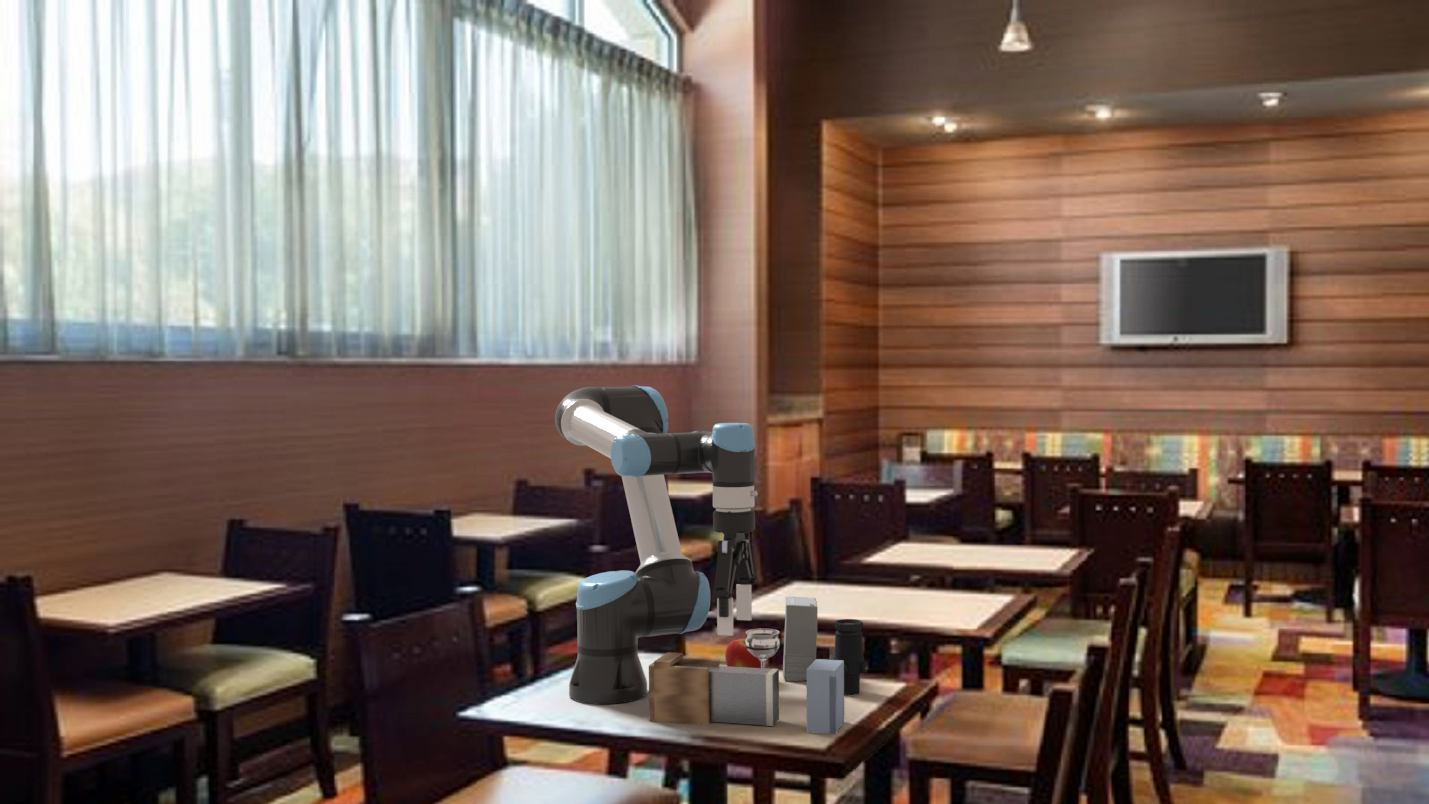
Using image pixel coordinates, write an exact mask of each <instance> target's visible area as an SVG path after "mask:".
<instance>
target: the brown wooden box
mask: <svg viewBox="0 0 1429 804" xmlns="http://www.w3.org/2000/svg"><path fill="white" fill-rule="evenodd" d="M720 662H721V661H720V659H718V658H717V659H715V658H703V657H702V658H700V657H684V653H683V652H671V651H670V652H669V651H668V652H666V653H664V654H663V655H662V656H660V657H658V658H656V660H654V661H653V662H652V663H651V664H649V665H648V700H649V701H648V707H649V708H648V709H649V710H648V715H649V716H648V717H649V718H648V719H649V720H648V721H649V722H660V723H673V724H688V725H689V724H691V725H703V726H704V725H705V726H708V725H710V723H711V721H710V715H709V668H704V667H687V666H672V665H673V664H675V663H677V664H694V665H712V666H721V665H720V664H721V663H720Z"/></svg>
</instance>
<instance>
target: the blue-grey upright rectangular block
mask: <svg viewBox="0 0 1429 804" xmlns="http://www.w3.org/2000/svg"><path fill="white" fill-rule="evenodd" d="M806 678H807V681H806V733H810V732H814V733H813V734H826V735H827V734H828V735H836V734H837V733H838V731H839V730H840V729H839V728H841V727H842V725H843V724H844V723H845V695H844V661H843V660H826V658H825V659H824V658H823V659H821V658H819V659H818V658H816V660H815V661H814V662H813V663H812V664H811V665H810V666H809V667H808V668H807V669H806ZM838 729H839V730H838ZM836 732H837V733H836Z"/></svg>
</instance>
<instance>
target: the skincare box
mask: <svg viewBox="0 0 1429 804" xmlns="http://www.w3.org/2000/svg"><path fill="white" fill-rule="evenodd" d="M817 603H818V601H817V598H816V597H808V596H785V608H784V609H785V610H784V611H785V616H784V619H785V620H784V638H783V658H782V659H783V662H782V663H783V664H782V677H783V680H784V681H785V682H787V681H789V682H792V681H793V682H800V681H799V680H807V678H806V669H807V668H808V667H809V666H810V665H811V664H812V663H813V662H814V661H815V660H816V659H817V641H818V640H817V639H818V604H817Z"/></svg>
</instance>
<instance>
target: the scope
mask: <svg viewBox="0 0 1429 804" xmlns="http://www.w3.org/2000/svg"><path fill="white" fill-rule="evenodd" d="M863 627H864V622H863V621H862V620H860V619H855V618H854V619H853V618H846V619H845V618H842V619H838V620H836V621H835V622H834V628H835V629H836V630H835V636H834V647H833V646H832V647H831V646H829V658H825V660H843V661H844V696H857V695H860V694H861V684H860V683H861V681H860V680H861V679H860V677H861V674H867V673H868V672H869V669H870V666H869V663H868V661H865V658H864V657H865V656H864V643H863V642H864V641H863V638H864V637H863V631H862V629H863Z"/></svg>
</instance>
